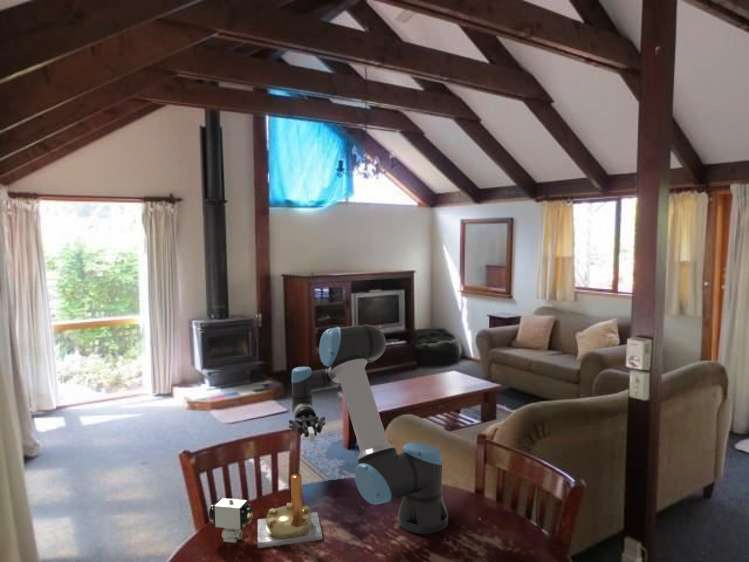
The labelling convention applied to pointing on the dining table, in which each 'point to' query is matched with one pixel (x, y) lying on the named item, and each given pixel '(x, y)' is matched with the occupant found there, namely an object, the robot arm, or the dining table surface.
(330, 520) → the dining table surface
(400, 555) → the dining table surface
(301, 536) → the flange plate
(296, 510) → the brass lugged disc
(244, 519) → the pneumatic valve
